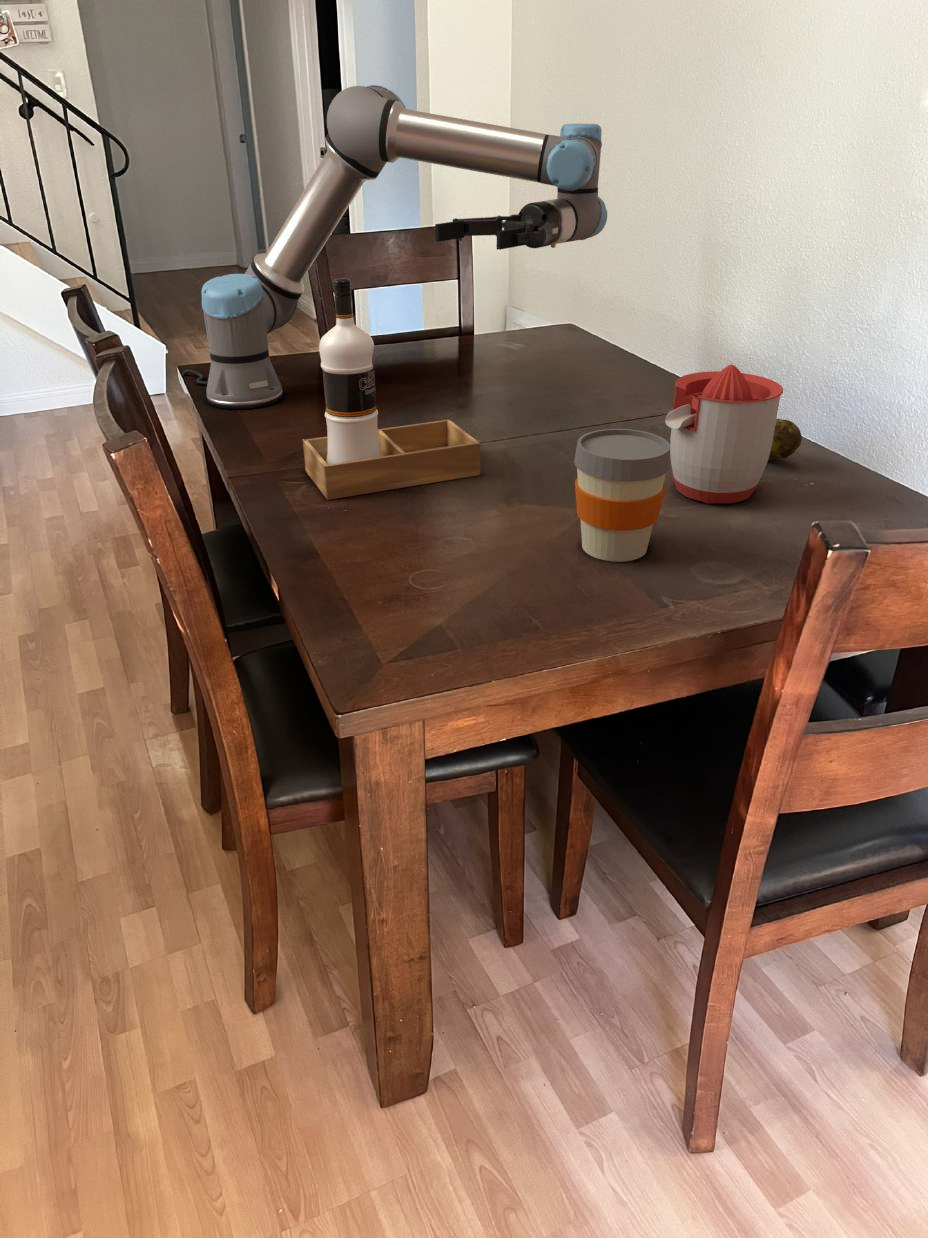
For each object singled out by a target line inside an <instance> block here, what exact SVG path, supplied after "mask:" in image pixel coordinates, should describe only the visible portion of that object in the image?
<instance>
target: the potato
mask: <svg viewBox="0 0 928 1238" xmlns="http://www.w3.org/2000/svg"><path fill="white" fill-rule="evenodd" d="M802 439H803V437H802V432H801V430H800V428H799V427H798V425H797V424H795V423H794V422H793V421H792V420H789V419H781V418H776V424H775V429H774V435H773V441H772V446H771V451H770V455H769V459H768V461H769V460H776V459H783V460H786V459H787V458H789V457H790V456H792V455H793V454H794V453H795V452H796V450H797V449H799V448H800V446H801V444H802Z"/></svg>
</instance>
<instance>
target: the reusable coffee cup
mask: <svg viewBox="0 0 928 1238" xmlns="http://www.w3.org/2000/svg"><path fill="white" fill-rule="evenodd" d="M574 454H575V455H574V460H573V461H574V463H573V464H574V466H575V467H576V473H577V477H576V478H575V481H574V489H575V502H576V503H575V504H576V515H577V517H578V518H579V520H580V532H581V535H580V536H581V548H582V550H583V551H584V552H585V553H586V554H587V555H589V556H591V557H592V558H595V559H599V560H602V561H606V562H618V563H619V562H620V563H621V562H622V563H623V562H630V561H635V560H638V559H640V558H642V557H643V556H645V555H646V554H647V550H648V546H649V544H650V538H651V535H652V532H653V531H652V530H653V528H654V524H655V523H657V521H658V519H659V516H660V512H661V508H662V504H663V500H664V496H665V492H666V489H667V487H666V484H665V480H666V475H667V473H668V472H669V471H670V469H671V456H670V442H669V441H668V440H667V439H666V438H664V437H662V436H660V435H657V434H655V433H652V432H650V431H649V432H648V431H644V430H638V429H629V428H605V429H598V430H593V431H590V432H587V433H584V434H583V435H581V436H580V437H579V438H578V439H577V442H576V449H575V453H574Z"/></svg>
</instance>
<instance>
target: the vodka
mask: <svg viewBox="0 0 928 1238" xmlns="http://www.w3.org/2000/svg"><path fill="white" fill-rule="evenodd" d="M351 282H352V280H351V279H350V278H345V277H339V278H335V279H333V280H332V283H333V295H334V298H333V299H334V308H335V309H334V310H335V311H334V312H335V323H336V324H335V326H333V327H332V328H331V329H330V330H328V331H327V332H326V333H325V334H324V335H323V336H321V338H320V341H319V344H318V351H319V352H318V353H319V358H320V368H321V369H322V378H323V390H324V391H323V392H324V402H325V412H324V417H325V421H326V431H327V432H326V433H327V436H326V437H328V449H327V458H326V463H327V464H328V465H329V464H336V463H342V462H349V461H355V460H362V459H369V458H375V457H382V456H383V455H382V453H381V448H380V442H379V434H378V429H379V428H378V425H379V424H378V415H379V410H378V409H377V408H378V407H377V391H376V377H375V376H376V371H375V354H374V353H375V352H374V349H375V343H374V340H373V338H372V336H371V335H370V334H369V333H367V331H365V330H363V329H362V328H360V327H359V326H358V325H356V324H355V319H354V312H353V311H354V309H353V297H352V296H353V295H352V283H351Z"/></svg>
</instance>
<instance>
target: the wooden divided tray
mask: <svg viewBox="0 0 928 1238" xmlns="http://www.w3.org/2000/svg"><path fill="white" fill-rule="evenodd" d="M378 434H379V442H380V448H381V453H382V455H383V456H382V457H375V458H369V459H362V460H355V461H349V462H342V463H336V464H329V465H328V464H327V463H326V458H327V449H328V437H327V436H322V437H313V438H306V439H302V448H303V457H304V469H305V473H307V475H308V476H309V478H310V479H311V480H312V481H313V483H314V484H315V485H316V487H317V488H318V489H319V491H320V492H321V493H322V495H323V496H324V497H325V499H326V500H327V501H329V500H337V499H343V498H348V497H354V496H359V495H365V494H366V495H367V494H372V493H379V492H384V491H391V490H397V489H403V488H409V487H415V486H421V485H427V484H434V483H439V482H440V483H441V482H446V481H451V480H457V479H465V478H471V477H476V476H481V442H480V441H478V440H477V439H475V438H474V437H473V436H471V435H470V434H469V433H468V432H466V431H465V429H462V427H459V426H458V425H457V424H456V423H454V422H453V421H452V420H450V419H442V420H436V421H428V422H421V423H413V424H407V425H400V426H393V427H392V426H391V427H385V428H378Z"/></svg>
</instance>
